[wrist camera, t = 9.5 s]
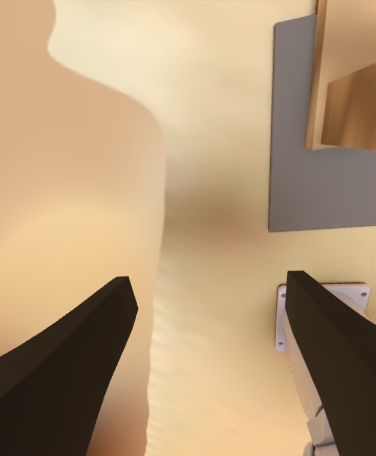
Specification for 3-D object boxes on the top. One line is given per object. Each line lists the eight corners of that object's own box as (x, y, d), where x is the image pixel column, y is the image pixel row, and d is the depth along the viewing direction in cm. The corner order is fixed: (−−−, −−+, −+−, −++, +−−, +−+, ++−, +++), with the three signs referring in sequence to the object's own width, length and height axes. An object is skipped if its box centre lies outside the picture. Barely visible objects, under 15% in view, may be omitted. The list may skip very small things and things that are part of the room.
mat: (384, 223, 17) (387, 225, 16) (268, 230, 18) (269, 232, 18) (448, -13, 11) (456, -18, 11) (274, 26, 13) (276, 23, 12)
